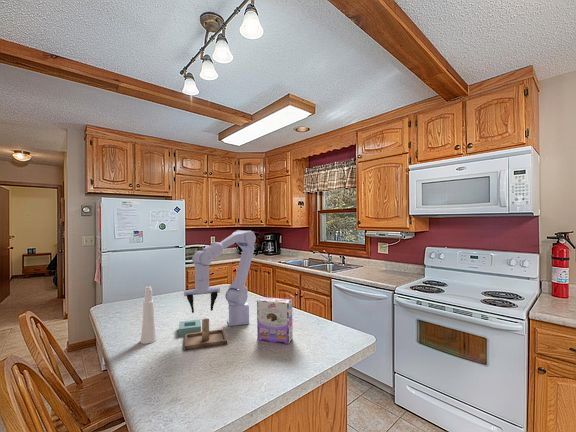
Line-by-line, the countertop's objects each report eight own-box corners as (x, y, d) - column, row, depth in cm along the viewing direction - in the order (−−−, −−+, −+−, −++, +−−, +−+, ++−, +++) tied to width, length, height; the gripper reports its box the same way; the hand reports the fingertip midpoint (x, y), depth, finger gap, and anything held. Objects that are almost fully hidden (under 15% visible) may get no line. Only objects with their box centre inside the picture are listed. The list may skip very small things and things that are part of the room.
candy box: (293, 338, 117) (293, 298, 117) (288, 344, 111) (288, 303, 111) (262, 334, 122) (262, 296, 122) (256, 340, 116) (256, 299, 116)
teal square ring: (200, 325, 131) (200, 319, 131) (201, 333, 123) (200, 326, 123) (179, 328, 128) (179, 321, 128) (178, 336, 120) (178, 329, 120)
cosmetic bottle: (138, 344, 112) (138, 289, 112) (142, 338, 118) (142, 285, 118) (155, 343, 113) (155, 288, 113) (157, 336, 119) (157, 284, 119)
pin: (207, 337, 117) (207, 317, 117) (210, 339, 115) (210, 319, 115) (200, 339, 115) (200, 319, 115) (203, 341, 113) (203, 321, 113)
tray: (224, 332, 123) (224, 328, 123) (227, 344, 112) (227, 340, 112) (184, 337, 118) (184, 333, 118) (184, 350, 107) (184, 346, 107)
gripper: (218, 275, 127) (218, 306, 127) (183, 278, 122) (184, 310, 122) (220, 279, 120) (220, 311, 120) (184, 282, 115) (184, 315, 115)
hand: (202, 311), depth 121 cm, fingers open, 7 cm apart
